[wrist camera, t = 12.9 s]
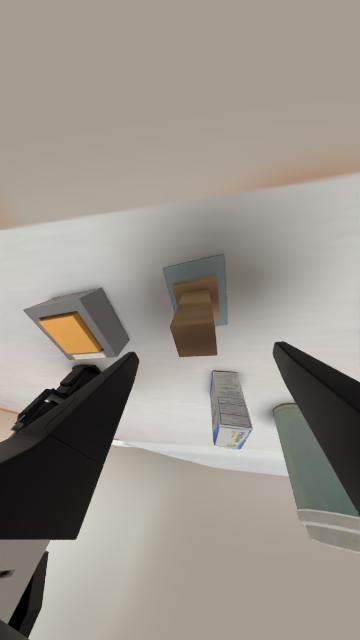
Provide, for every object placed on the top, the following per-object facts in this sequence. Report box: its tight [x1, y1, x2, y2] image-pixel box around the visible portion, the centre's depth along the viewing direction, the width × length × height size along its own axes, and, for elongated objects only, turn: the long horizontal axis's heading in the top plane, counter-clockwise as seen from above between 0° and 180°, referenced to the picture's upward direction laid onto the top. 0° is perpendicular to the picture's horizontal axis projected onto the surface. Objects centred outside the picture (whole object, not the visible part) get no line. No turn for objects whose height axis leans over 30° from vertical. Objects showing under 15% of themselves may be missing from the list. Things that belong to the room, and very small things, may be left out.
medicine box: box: [210, 371, 253, 449], centre depth 22 cm, size 8×4×9 cm, turn 3°
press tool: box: [170, 275, 220, 357], centre depth 13 cm, size 5×5×8 cm
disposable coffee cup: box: [273, 404, 360, 554], centre depth 21 cm, size 11×11×15 cm
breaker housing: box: [23, 288, 129, 360], centre depth 20 cm, size 10×10×4 cm
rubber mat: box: [163, 254, 228, 326], centre depth 17 cm, size 9×7×1 cm
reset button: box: [39, 311, 103, 354], centre depth 19 cm, size 6×6×3 cm
